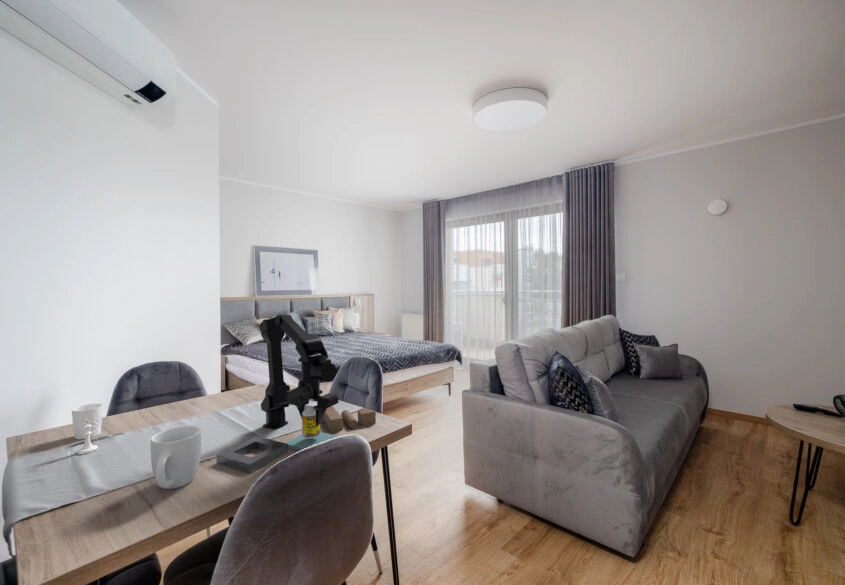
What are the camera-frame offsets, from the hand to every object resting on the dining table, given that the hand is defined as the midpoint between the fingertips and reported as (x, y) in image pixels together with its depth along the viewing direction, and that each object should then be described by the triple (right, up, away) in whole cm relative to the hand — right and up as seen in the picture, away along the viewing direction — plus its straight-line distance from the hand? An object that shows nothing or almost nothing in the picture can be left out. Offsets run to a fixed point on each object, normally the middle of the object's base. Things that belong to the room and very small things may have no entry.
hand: (311, 423), depth 118 cm
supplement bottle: (0, -4, 0) cm, 4 cm away
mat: (0, -6, 0) cm, 6 cm away
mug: (-28, -7, -24) cm, 38 cm away
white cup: (-81, -7, +7) cm, 81 cm away
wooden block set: (+8, -7, +20) cm, 22 cm away
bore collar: (-14, -7, -10) cm, 19 cm away
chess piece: (-70, -7, -5) cm, 70 cm away
